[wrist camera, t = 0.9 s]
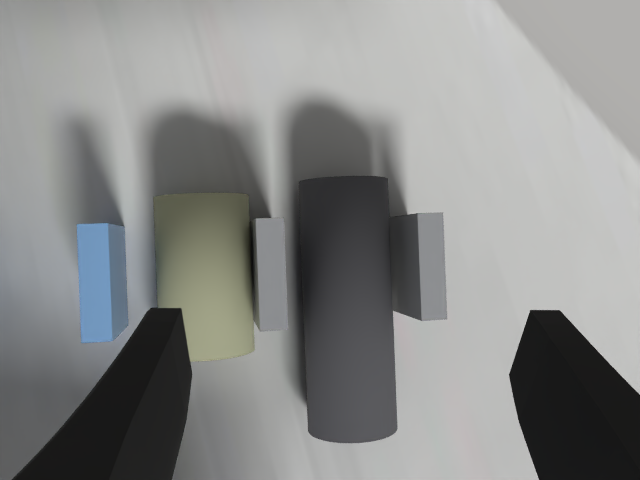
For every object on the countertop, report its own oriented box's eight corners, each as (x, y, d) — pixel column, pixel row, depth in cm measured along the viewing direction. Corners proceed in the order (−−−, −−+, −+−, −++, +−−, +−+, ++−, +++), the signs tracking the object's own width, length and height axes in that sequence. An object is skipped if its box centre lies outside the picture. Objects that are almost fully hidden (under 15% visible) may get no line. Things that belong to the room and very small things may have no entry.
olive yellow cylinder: (232, 340, 26) (270, 352, 23) (148, 351, 24) (177, 366, 21) (226, 200, 26) (264, 192, 23) (142, 200, 24) (170, 192, 21)
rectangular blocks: (412, 308, 27) (447, 319, 23) (-62, 337, 23) (-118, 356, 19) (408, 217, 27) (443, 212, 23) (-66, 232, 23) (-123, 230, 19)
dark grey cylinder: (374, 410, 27) (413, 434, 23) (296, 421, 26) (325, 448, 22) (366, 185, 27) (403, 176, 23) (287, 185, 26) (315, 176, 22)
